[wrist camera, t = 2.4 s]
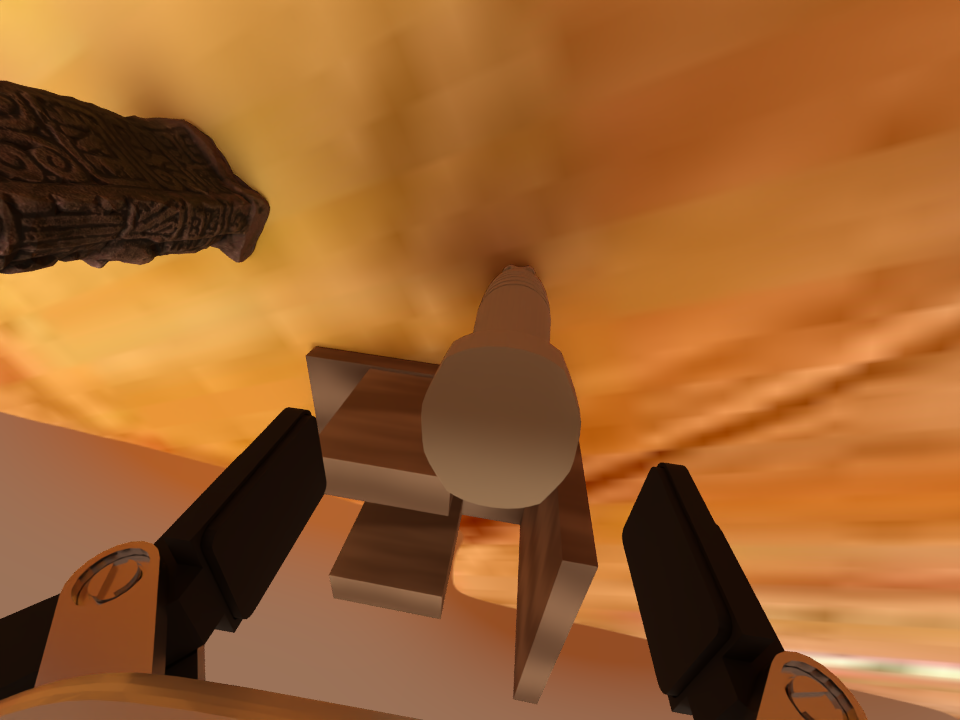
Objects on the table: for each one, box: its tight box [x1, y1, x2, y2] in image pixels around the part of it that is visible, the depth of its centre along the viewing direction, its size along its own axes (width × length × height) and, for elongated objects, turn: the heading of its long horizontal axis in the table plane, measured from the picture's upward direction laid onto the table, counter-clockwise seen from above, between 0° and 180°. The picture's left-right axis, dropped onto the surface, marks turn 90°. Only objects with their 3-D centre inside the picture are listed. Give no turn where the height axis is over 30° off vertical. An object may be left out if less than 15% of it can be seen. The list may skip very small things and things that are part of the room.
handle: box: [421, 264, 581, 509], centre depth 18 cm, size 5×6×15 cm
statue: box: [0, 81, 270, 274], centre depth 15 cm, size 7×7×20 cm
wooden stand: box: [306, 347, 598, 704], centre depth 26 cm, size 15×20×14 cm
